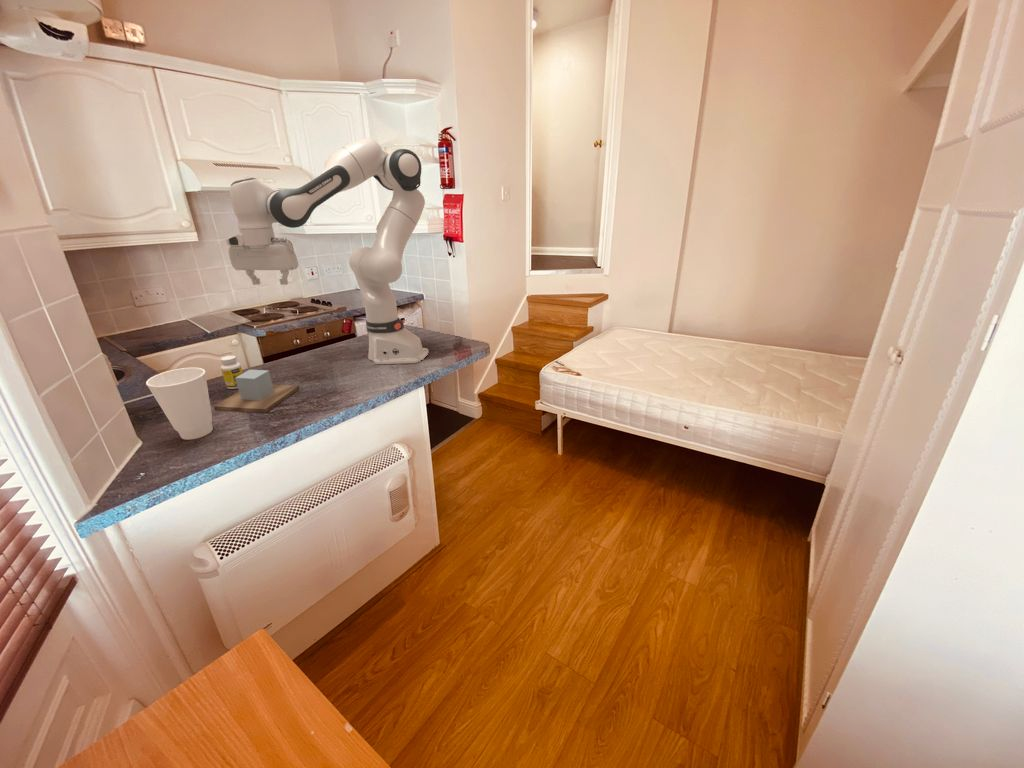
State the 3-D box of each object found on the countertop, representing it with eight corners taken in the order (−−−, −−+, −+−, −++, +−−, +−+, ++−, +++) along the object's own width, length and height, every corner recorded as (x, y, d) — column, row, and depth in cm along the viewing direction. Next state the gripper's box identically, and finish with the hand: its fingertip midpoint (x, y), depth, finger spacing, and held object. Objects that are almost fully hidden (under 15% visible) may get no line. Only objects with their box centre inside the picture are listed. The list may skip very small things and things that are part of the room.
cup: (169, 430, 111) (147, 374, 105) (222, 417, 118) (204, 363, 111) (168, 450, 102) (143, 390, 96) (225, 435, 109) (205, 378, 102)
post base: (299, 389, 134) (294, 368, 131) (266, 412, 119) (259, 389, 116) (253, 386, 136) (247, 366, 133) (215, 409, 121) (207, 387, 118)
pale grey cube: (274, 391, 130) (268, 370, 127) (260, 400, 124) (254, 378, 121) (255, 390, 130) (249, 369, 127) (241, 399, 125) (234, 377, 122)
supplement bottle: (237, 390, 134) (228, 361, 130) (222, 388, 135) (213, 360, 131) (250, 383, 139) (242, 355, 135) (236, 382, 140) (227, 354, 136)
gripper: (296, 236, 129) (307, 282, 134) (235, 237, 131) (248, 282, 137) (284, 239, 123) (295, 286, 129) (220, 239, 126) (234, 286, 131)
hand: (270, 284), depth 133 cm, fingers open, 8 cm apart
